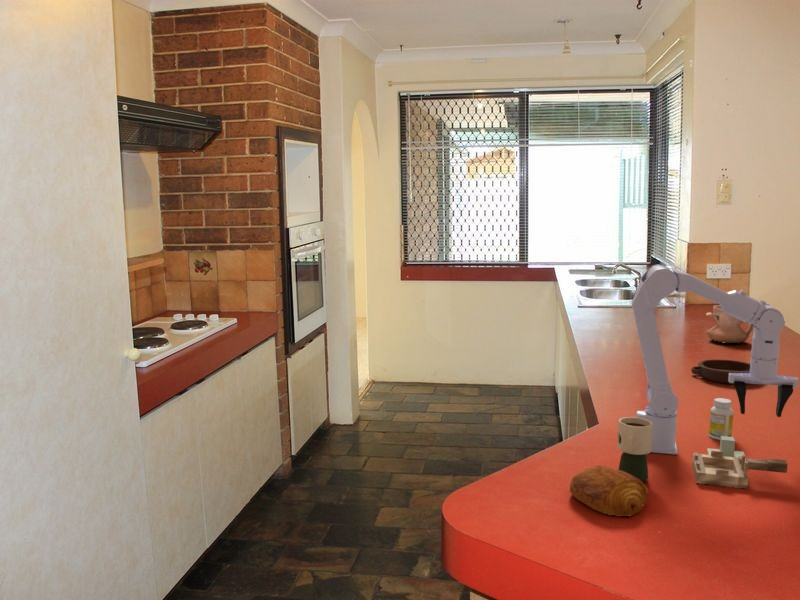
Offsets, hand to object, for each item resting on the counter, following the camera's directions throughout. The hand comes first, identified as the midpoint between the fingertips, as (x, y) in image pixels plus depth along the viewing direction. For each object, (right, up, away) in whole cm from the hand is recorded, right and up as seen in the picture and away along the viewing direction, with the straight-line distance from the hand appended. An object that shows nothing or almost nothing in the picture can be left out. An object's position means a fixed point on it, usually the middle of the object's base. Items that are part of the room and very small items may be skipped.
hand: (760, 414), depth 177 cm
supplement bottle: (-3, -8, +14) cm, 16 cm away
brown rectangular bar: (-7, -9, -17) cm, 21 cm away
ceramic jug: (+47, +10, +125) cm, 134 cm away
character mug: (-34, -12, -13) cm, 38 cm away
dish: (+22, +1, +69) cm, 73 cm away
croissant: (-42, -14, -24) cm, 51 cm away
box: (-14, -12, -11) cm, 22 cm away
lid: (-8, -11, -1) cm, 13 cm away
